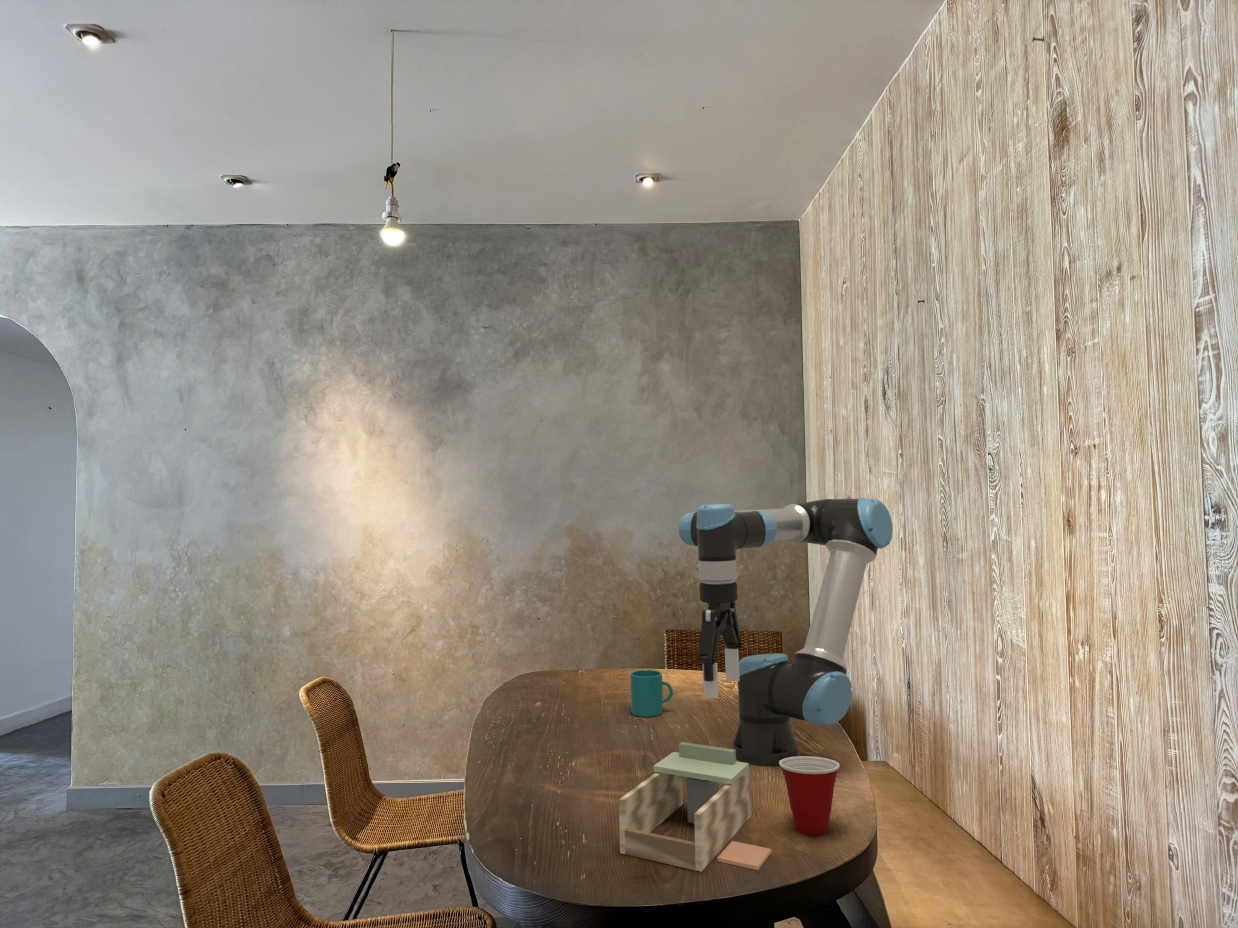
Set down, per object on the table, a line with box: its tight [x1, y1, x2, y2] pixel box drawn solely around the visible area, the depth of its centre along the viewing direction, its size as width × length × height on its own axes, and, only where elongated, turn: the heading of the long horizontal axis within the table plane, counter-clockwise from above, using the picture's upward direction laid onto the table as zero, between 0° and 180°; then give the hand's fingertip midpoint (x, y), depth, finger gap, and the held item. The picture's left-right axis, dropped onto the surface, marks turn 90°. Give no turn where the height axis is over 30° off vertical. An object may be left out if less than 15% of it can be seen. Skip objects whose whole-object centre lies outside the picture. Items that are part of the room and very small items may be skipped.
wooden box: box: [618, 768, 751, 872], centre depth 138 cm, size 24×15×9 cm, turn 151°
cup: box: [629, 669, 674, 718], centre depth 218 cm, size 9×12×11 cm
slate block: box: [686, 777, 719, 824], centre depth 144 cm, size 4×4×8 cm
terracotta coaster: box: [716, 840, 772, 871], centre depth 129 cm, size 7×7×1 cm
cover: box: [652, 741, 750, 785], centre depth 144 cm, size 9×16×3 cm, turn 61°
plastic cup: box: [778, 755, 840, 836], centre depth 140 cm, size 11×11×12 cm
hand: (722, 688), depth 152 cm, fingers open, 13 cm apart
